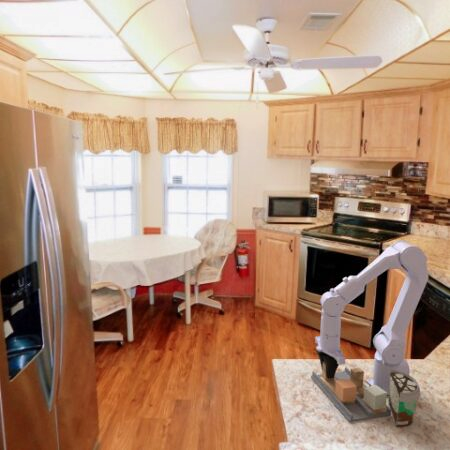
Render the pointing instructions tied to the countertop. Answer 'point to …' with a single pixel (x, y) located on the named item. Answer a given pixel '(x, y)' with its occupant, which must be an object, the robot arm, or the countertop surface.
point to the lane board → (350, 410)
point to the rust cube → (345, 390)
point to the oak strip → (331, 383)
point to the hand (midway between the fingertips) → (328, 375)
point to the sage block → (375, 397)
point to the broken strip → (362, 387)
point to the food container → (402, 397)
